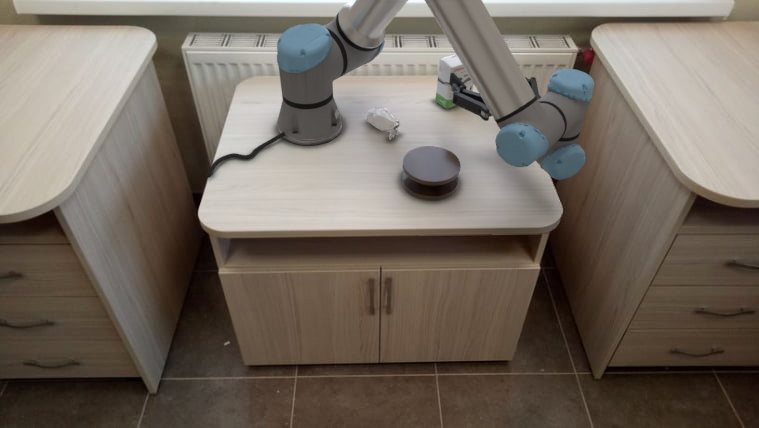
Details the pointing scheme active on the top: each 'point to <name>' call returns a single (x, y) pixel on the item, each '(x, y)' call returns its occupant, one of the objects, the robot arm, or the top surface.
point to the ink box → (443, 87)
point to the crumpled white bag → (383, 121)
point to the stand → (430, 173)
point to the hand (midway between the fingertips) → (478, 73)
